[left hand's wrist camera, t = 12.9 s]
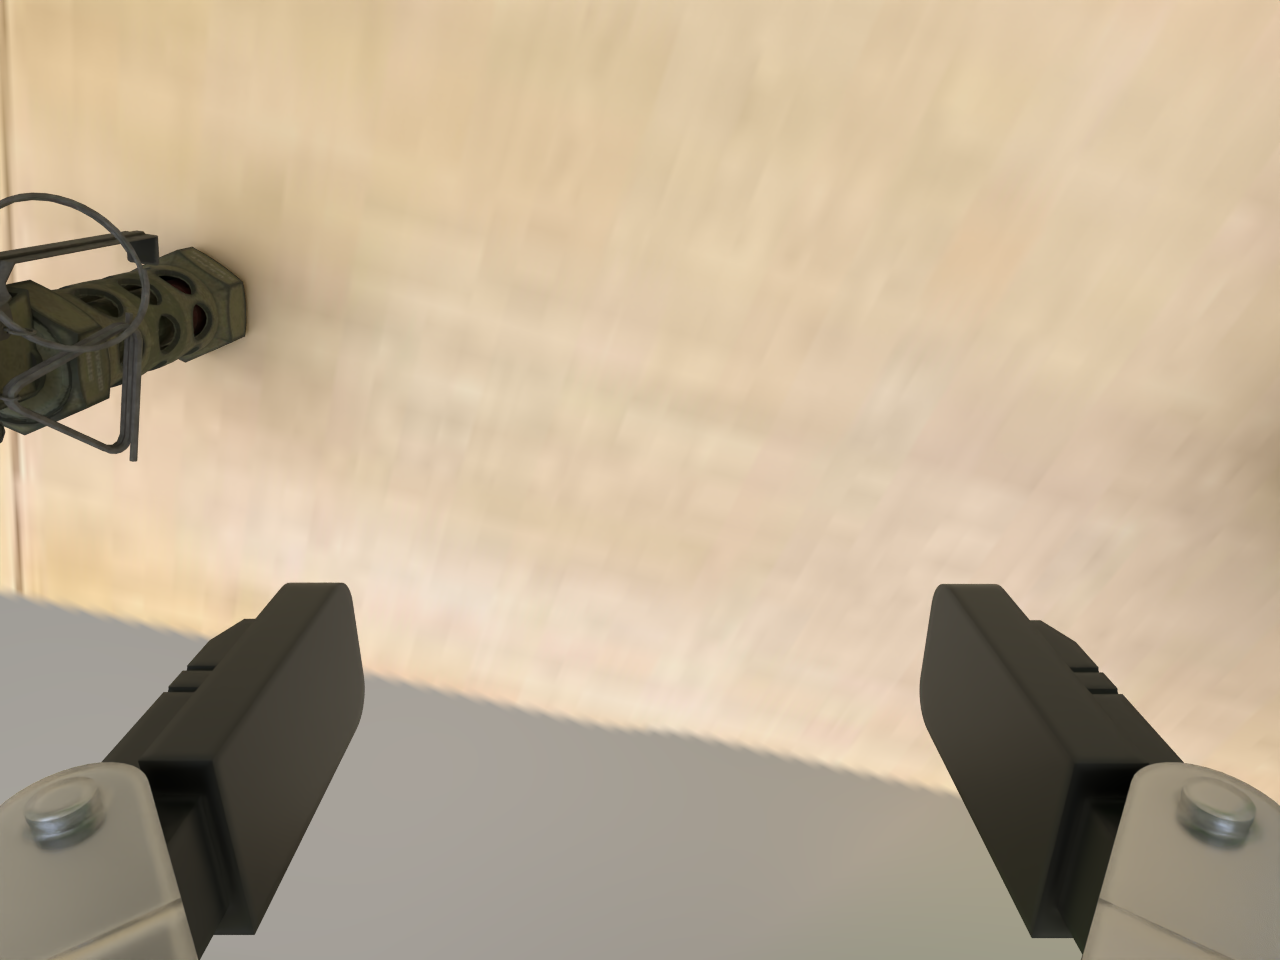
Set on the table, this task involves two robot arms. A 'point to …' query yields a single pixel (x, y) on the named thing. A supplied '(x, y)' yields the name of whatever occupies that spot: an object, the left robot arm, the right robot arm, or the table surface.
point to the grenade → (106, 328)
